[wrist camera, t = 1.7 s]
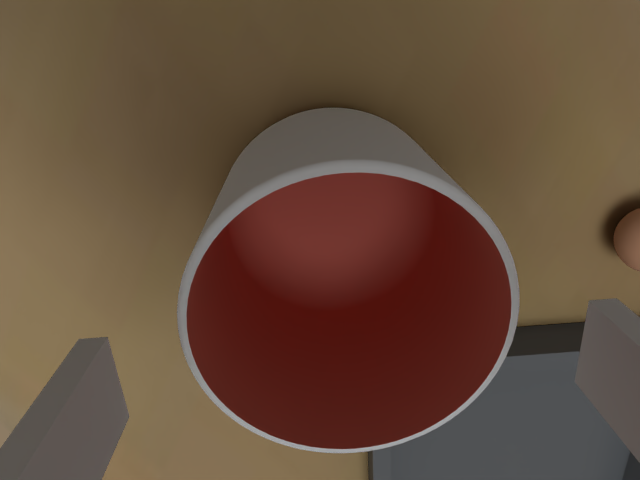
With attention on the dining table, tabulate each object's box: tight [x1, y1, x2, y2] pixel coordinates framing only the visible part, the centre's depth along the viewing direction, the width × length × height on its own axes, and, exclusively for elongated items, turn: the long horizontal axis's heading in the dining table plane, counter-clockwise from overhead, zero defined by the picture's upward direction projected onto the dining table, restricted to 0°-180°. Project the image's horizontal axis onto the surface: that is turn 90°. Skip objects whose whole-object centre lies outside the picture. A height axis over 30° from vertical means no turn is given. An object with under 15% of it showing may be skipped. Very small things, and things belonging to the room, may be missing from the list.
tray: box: [368, 322, 640, 480], centre depth 29 cm, size 17×17×2 cm
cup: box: [177, 108, 519, 453], centre depth 19 cm, size 10×10×10 cm
